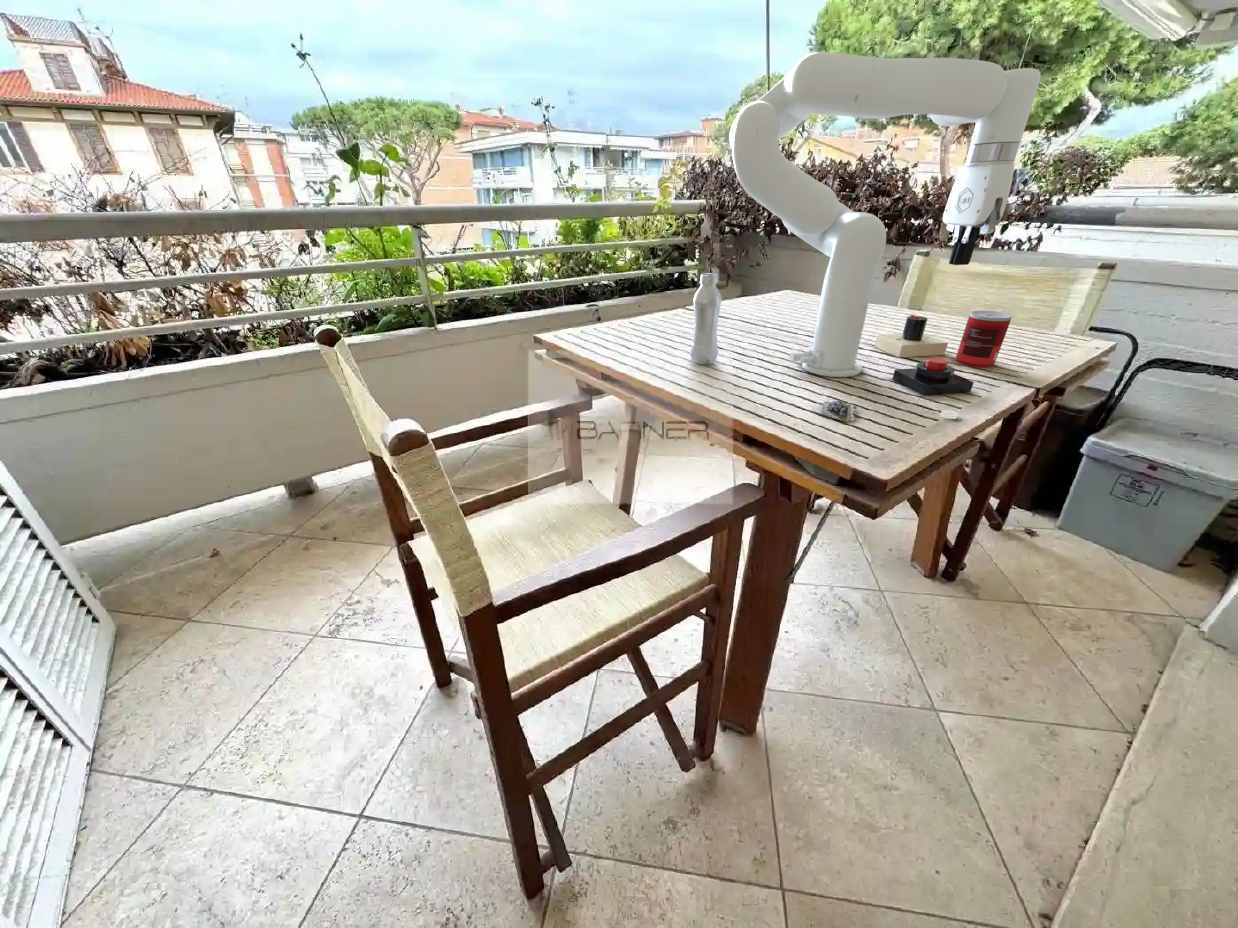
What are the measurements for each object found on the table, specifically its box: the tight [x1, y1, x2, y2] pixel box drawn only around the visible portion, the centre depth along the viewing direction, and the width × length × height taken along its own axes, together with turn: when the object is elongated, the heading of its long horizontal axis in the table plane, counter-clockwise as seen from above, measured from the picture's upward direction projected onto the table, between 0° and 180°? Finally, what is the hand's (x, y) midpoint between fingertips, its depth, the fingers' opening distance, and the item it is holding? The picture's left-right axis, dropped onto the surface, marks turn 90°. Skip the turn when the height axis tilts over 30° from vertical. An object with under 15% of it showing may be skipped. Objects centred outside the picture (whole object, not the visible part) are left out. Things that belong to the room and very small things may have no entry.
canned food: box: [955, 310, 1013, 369], centre depth 109 cm, size 8×8×11 cm
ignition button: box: [925, 357, 949, 370], centre depth 97 cm, size 4×4×2 cm
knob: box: [901, 314, 928, 341], centre depth 118 cm, size 4×4×5 cm
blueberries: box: [821, 400, 857, 423], centre depth 87 cm, size 7×8×2 cm
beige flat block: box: [874, 333, 949, 358], centre depth 120 cm, size 12×10×3 cm
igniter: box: [892, 361, 975, 397], centre depth 98 cm, size 10×10×4 cm
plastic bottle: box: [689, 272, 723, 365], centre depth 111 cm, size 6×7×20 cm
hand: (958, 264), depth 97 cm, fingers closed
